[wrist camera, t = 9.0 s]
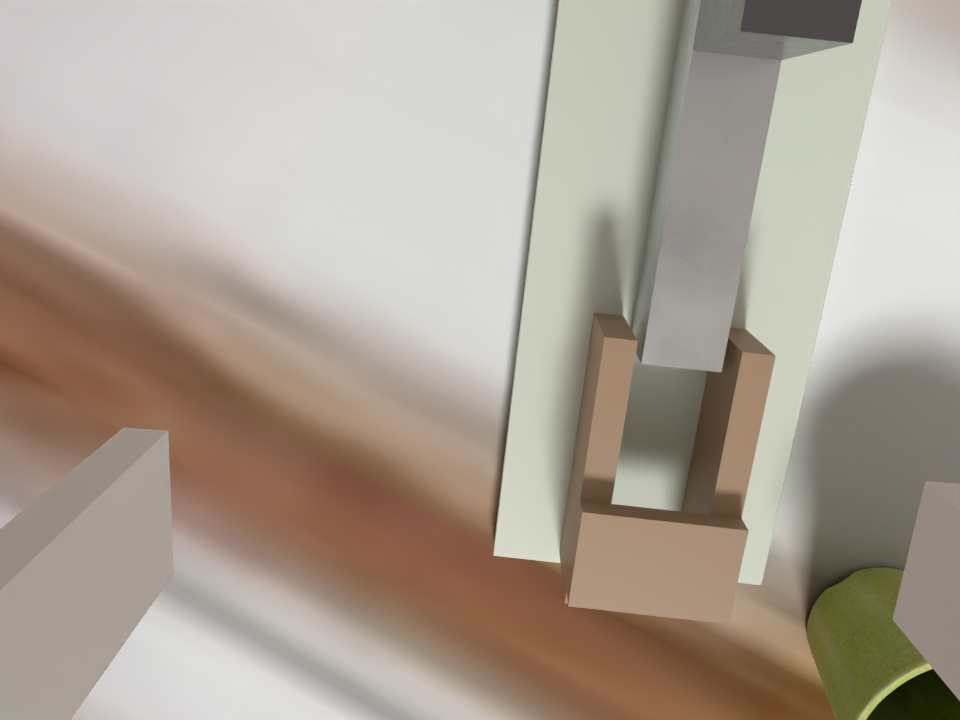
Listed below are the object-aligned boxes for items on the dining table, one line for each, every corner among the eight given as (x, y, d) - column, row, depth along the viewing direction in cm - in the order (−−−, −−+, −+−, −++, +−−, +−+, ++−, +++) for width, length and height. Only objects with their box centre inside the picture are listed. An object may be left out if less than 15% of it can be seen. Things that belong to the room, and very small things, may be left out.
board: (494, 542, 38) (490, 624, 32) (582, -204, 30) (601, -292, 23) (753, 570, 38) (801, 659, 32) (915, -169, 29) (1024, -249, 23)
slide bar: (630, 343, 33) (671, 419, 25) (704, -124, 29) (786, -230, 20) (703, 350, 33) (770, 430, 25) (789, -115, 29) (908, -218, 20)
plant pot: (999, 541, 37) (1142, 662, 29) (949, 716, 40) (1066, 874, 31) (791, 522, 37) (872, 638, 29) (755, 698, 40) (819, 851, 31)
